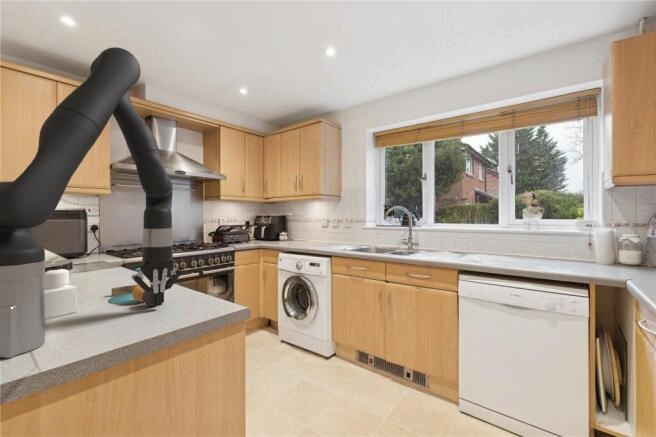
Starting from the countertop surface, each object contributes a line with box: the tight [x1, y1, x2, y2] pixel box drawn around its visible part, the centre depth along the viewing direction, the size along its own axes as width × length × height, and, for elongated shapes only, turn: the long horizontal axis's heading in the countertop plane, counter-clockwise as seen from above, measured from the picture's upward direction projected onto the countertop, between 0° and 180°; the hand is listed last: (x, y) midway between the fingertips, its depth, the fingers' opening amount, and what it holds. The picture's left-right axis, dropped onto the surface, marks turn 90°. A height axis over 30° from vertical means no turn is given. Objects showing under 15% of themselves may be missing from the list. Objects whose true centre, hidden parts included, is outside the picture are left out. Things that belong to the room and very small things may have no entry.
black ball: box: [142, 291, 155, 307], centre depth 89 cm, size 6×6×6 cm
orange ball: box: [132, 283, 150, 303], centre depth 93 cm, size 6×6×6 cm
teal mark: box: [108, 293, 142, 305], centre depth 97 cm, size 14×14×1 cm
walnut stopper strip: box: [111, 283, 138, 297], centre depth 102 cm, size 9×1×2 cm, turn 139°
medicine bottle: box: [45, 267, 78, 321], centre depth 81 cm, size 7×7×12 cm
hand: (157, 305), depth 86 cm, fingers closed
